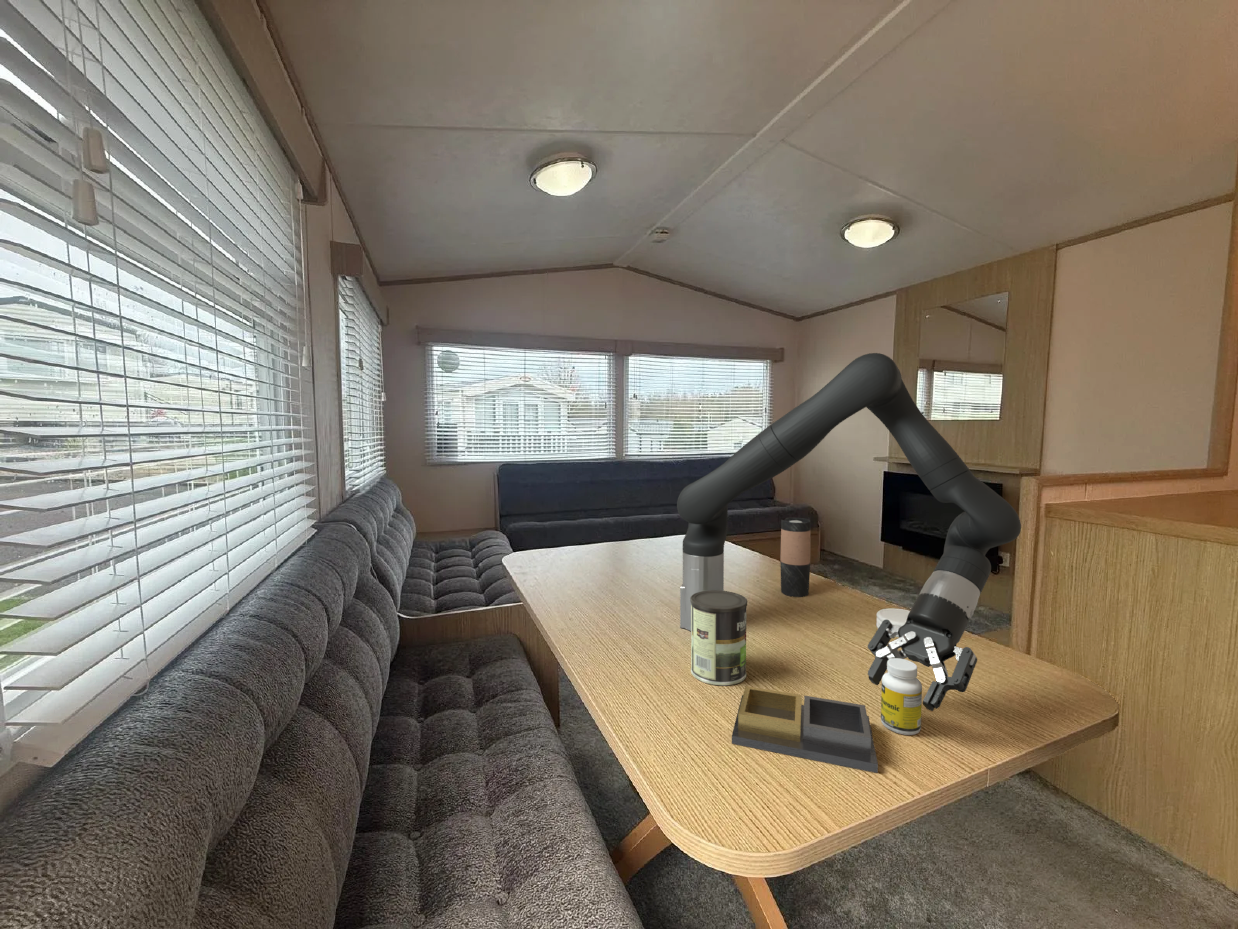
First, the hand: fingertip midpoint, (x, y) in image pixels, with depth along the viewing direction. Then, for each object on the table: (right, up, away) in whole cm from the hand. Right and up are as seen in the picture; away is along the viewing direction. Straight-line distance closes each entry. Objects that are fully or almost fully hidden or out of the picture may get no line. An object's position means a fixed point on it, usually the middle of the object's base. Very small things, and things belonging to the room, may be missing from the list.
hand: (898, 694), depth 78 cm
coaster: (+21, -2, +37) cm, 42 cm away
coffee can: (-24, -4, +18) cm, 30 cm away
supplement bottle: (+1, -5, +1) cm, 5 cm away
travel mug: (+6, 0, +63) cm, 63 cm away
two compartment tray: (-15, -5, -1) cm, 16 cm away
